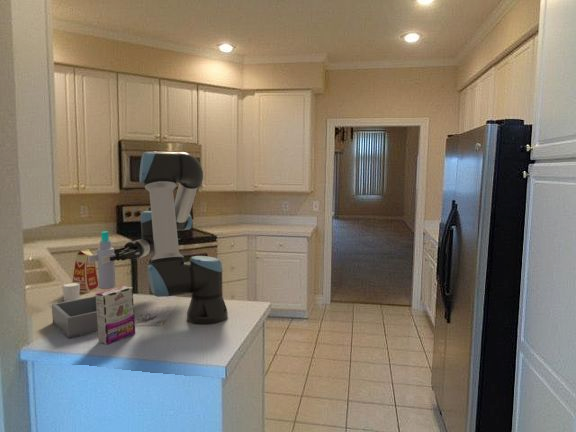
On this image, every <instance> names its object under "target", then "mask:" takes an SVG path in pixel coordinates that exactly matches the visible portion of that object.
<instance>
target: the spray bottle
mask: <svg viewBox="0 0 576 432" xmlns="http://www.w3.org/2000/svg"><path fill="white" fill-rule="evenodd" d="M100 234H101V240H100V241H99V248H97V249H96V251H97V252H96V254H97V257H98V261H97V274H98V280H99V288H98V289H101V290H111V289H114V288H116V270H115V269H116V268H115V267H116V263H115V261H113V262H109V263H106V264H102V257H103V256H107V255H112V254H114V248H115V247H113V246H112V242H111V240H110V238H109V236H110V235H109V231H101V233H100Z"/></svg>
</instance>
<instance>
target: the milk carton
mask: <svg viewBox="0 0 576 432" xmlns="http://www.w3.org/2000/svg"><path fill="white" fill-rule="evenodd" d="M90 250H91V249H89V248H88V249H84V248H79V252H78V253H76V256H75V262H74V269H73V274H72V275H73V276H72V281H71V283H79V284H80V290H79V293H88V294H89V293H91V292H93V291H96V290H98V289H100V288H99V279H98V267H97V265H96V261H95V262H92V263H88V256H89V255H94V254H93V253H92V252H91V251H90Z"/></svg>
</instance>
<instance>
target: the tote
mask: <svg viewBox="0 0 576 432" xmlns="http://www.w3.org/2000/svg"><path fill="white" fill-rule="evenodd" d="M51 313H52V314H51V315H52V323H53V324H54V325H55V327H57V328H58V330H59V331H60V332H61V333H62V334H63V335H64V336H65V337H67V339H69V340H70V339H74V338H78V337H81V336H83V337H84V336H86V335H90V334H91V335H92V334H94V333H98V324H97V310H96V295H95V296H93V295H92V296H89V297H83V298H79V299H77V300H71V301H66V302H65V301H62V302H57V303H51Z"/></svg>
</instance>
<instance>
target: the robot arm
mask: <svg viewBox="0 0 576 432" xmlns="http://www.w3.org/2000/svg"><path fill="white" fill-rule="evenodd" d="M203 180H204V171H203V167H202V165H201V163H200V161H198V159H197V158H196V157H195V156H194V155H191V154H190V153H188V152H184V151H176V152H175V151H157V150H155V151H145V152H143V154H142V155H141V159H140V165H139V183H142V184H144V188H145V190H146V191H148V193H149V202H150V210H144V211H142V212H141V214H140V215H141V216H140V229H141V239H137V240H133V241H130V242H127V243H125V244H124V246H121V247H119V248H115V247H113V248H114V254H112V255H107V256H103V257H102V264H106V263H109V262H113V261H123V262H124V261H126V260H135V259H143V257H145V256H150V255H154V256H153V257H152V258H151V260H150V264H148V265H147V267H146V272H147V273H146V275H147V276H146V277H147V280H148V284H149V289H150V291H151V293H152V295H153V296H154V297H158V298H160V297H172V296H179V295H185V294H190V297H191V298H190V302H189V306H188V309H187V312H186V320H187V321H188V322H189V323H192V324H197V325H210V324H211V325H212V324H216V323H220V322H223V321H225V320H226V319H227V318H228V316H229V315H228V308H227V306H226V302H225V300H224V297H223V294H224V292H223V272H224V271H223V264H222V261H221V260H220V259H219V258H217V257H214V256H213V257H212V256H205V255H195V256H191V257H190V259H189V261H185V257H184V255H182V254H181V253H180V248H179V247H180V246H179V239H178V231H187V230H188V231H189V230H190V229H192V224H193V219H192V216H191V211H192V207H193V203H194V200H195V197H196V193H197V191H198V188H200V187H201V185H202V183H203ZM177 183H179V184H177ZM177 186H178V188H177ZM176 188H177V191H176V195H175V196H174V190H175V189H176ZM92 262H95V263H96V262H98V257H97V253H94V254H93V255H89V256H88V263H92Z"/></svg>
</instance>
